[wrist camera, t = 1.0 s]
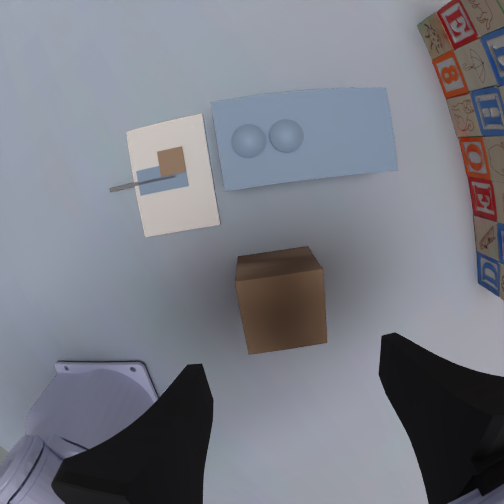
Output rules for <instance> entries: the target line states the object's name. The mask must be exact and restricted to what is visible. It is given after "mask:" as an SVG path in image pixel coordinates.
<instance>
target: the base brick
mask: <svg viewBox="0 0 504 504" xmlns="http://www.w3.org/2000/svg"><path fill="white" fill-rule="evenodd" d="M211 106H212V113H213V119H214V126H215V132H216V138H217V145H218V151H219V157H220V164H221V170H222V176H223V182H224V188H225V192H226V191H232V190H238V189H245V188H251V187H258V186H265V185H272V184H279V183H287V182H294V181H302V180H310V179H319V178H328V177H337V176H347V175H357V174H368V173H379V172H392V171H398V165H397V156H396V148H395V140H394V133H393V126H392V119H391V113H390V107H389V102H388V96H387V91H386V88H330V89H312V90H299V91H287V92H278V93H269V94H261V95H253V96H246V97H239V98H233V99H227V100H221V101H215V102H211Z"/></svg>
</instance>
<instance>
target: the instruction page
mask: <svg viewBox="0 0 504 504" xmlns="http://www.w3.org/2000/svg"><path fill="white" fill-rule="evenodd" d="M126 133H127V140H128V147H129V154H130V160H131V166H132V172H133V178H134V183H130V184H126V185H122V186H118V187H114V188H110V192H113V191H117V190H121V189H125V188H130V187H134V186H135V189H136V195H137V200H138V205H139V210H140V215H141V220H142V225H143V229H144V234H145V237H150V236H156V235H161V234H167V233H173V232H179V231H185V230H191V229H197V228H203V227H210V226H216V225H220V219H219V213H218V207H217V201H216V195H215V190H214V184H213V178H212V171H211V165H210V159H209V153H208V147H207V140H206V134H205V127H204V121H203V114H198V115H193V116H188V117H183V118H179V119H174V120H170V121H166V122H162V123H158V124H154V125H150V126H146V127H142V128H138V129H135V130H131V131H128V132H126Z"/></svg>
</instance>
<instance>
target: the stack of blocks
mask: <svg viewBox="0 0 504 504" xmlns="http://www.w3.org/2000/svg"><path fill="white" fill-rule="evenodd" d="M417 26H418V29H419V31H420V33H421V35H422V37H423V39H424V42H425V44H426V46H427V49H428V51H429V53H430V56H431V58H432V62H433V65H434V68H435V70H436V73H437V75H438V78H439V81H440V83H441V86H442V89H443V92H444V95H445V97H446V100H447V104H448V108H449V111H450V114H451V117H452V121H453V124H454V128H455V132H456V135H457V137H458V138H459V142H460V146H461V150H462V154H463V159H464V163H465V168H466V173H467V176H468V181H469V186H470V193H471V198H472V205H473V211H474V217H473V218H474V226H475V236H476V247H477V261H478V282H479V284H480V285H482V286H483V287H485V288H486V289H488V290H489V291H491V292H492V293H494V294H495V295H497V296H498V297H500V298H501V299H502V300H504V0H452V1H450V2H449V3H448V4H446V5H445V6H444V7H442V8H441V9H440V10H438V12H435V13H433V14H432V15H431V16H429V17H428V18H426V19H425V20H424V21H422V22H421V23H420V24H419V25H417Z"/></svg>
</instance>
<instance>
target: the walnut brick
mask: <svg viewBox="0 0 504 504" xmlns="http://www.w3.org/2000/svg"><path fill="white" fill-rule="evenodd" d="M235 285H236V291H237V296H238V302H239V307H240V312H241V318H242V323H243V328H244V333H245V338H246V344H247V349H248V354H257V353H264V352H272V351H279V350H286V349H292V348H298V347H305V346H311V345H316V344H322V343H327V328H326V309H325V293H324V279H323V269H322V267H321V266H320V264H319V263H318V261H317V259H316V258H315V256H314V255H313V253H312V252H311V250H310V249H309V248H308V246H306V247H299V248H293V249H286V250H279V251H272V252H265V253H258V254H252V255H245V256H238V262H237V269H236V277H235Z"/></svg>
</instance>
